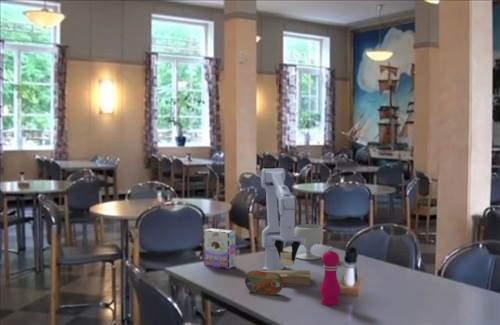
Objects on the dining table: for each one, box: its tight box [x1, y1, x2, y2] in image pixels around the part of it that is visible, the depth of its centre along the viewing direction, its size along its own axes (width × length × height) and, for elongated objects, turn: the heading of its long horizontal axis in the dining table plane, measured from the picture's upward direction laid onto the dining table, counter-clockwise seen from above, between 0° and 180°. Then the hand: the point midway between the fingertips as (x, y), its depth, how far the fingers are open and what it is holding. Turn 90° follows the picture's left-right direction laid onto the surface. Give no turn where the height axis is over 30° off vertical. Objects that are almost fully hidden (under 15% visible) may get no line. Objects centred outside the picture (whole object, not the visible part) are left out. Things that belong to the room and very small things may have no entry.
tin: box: [244, 269, 284, 296], centre depth 213 cm, size 15×3×8 cm, turn 62°
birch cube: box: [280, 249, 295, 267], centre depth 227 cm, size 4×4×5 cm
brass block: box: [264, 269, 311, 287], centre depth 227 cm, size 10×18×4 cm, turn 86°
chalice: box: [295, 223, 324, 261], centre depth 270 cm, size 14×14×15 cm
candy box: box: [203, 227, 236, 270], centre depth 253 cm, size 14×6×16 cm, turn 58°
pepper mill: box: [319, 246, 342, 307], centre depth 200 cm, size 7×7×20 cm
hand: (287, 259), depth 227 cm, fingers closed on birch cube, 4 cm apart
